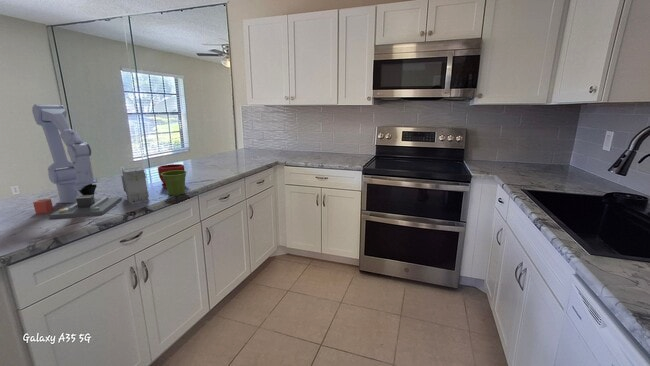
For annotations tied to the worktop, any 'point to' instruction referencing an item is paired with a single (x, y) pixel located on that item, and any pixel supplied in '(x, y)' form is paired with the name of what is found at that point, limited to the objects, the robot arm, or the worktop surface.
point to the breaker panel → (86, 208)
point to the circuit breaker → (135, 185)
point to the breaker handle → (85, 200)
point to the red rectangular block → (43, 206)
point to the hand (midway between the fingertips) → (90, 201)
